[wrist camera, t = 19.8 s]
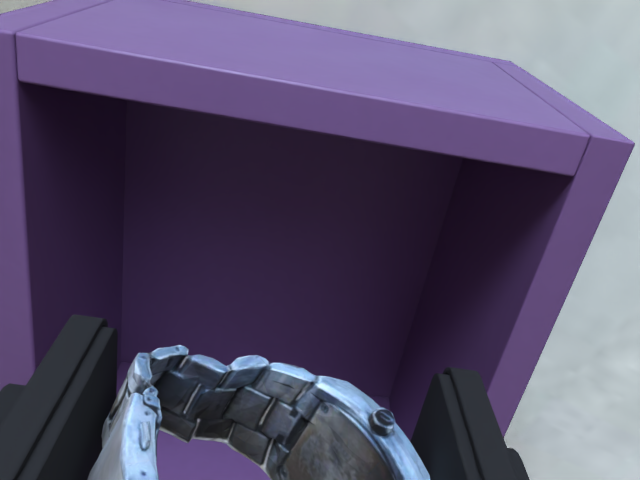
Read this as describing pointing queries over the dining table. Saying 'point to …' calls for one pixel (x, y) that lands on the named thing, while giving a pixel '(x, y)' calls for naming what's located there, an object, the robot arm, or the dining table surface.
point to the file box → (286, 201)
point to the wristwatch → (252, 420)
